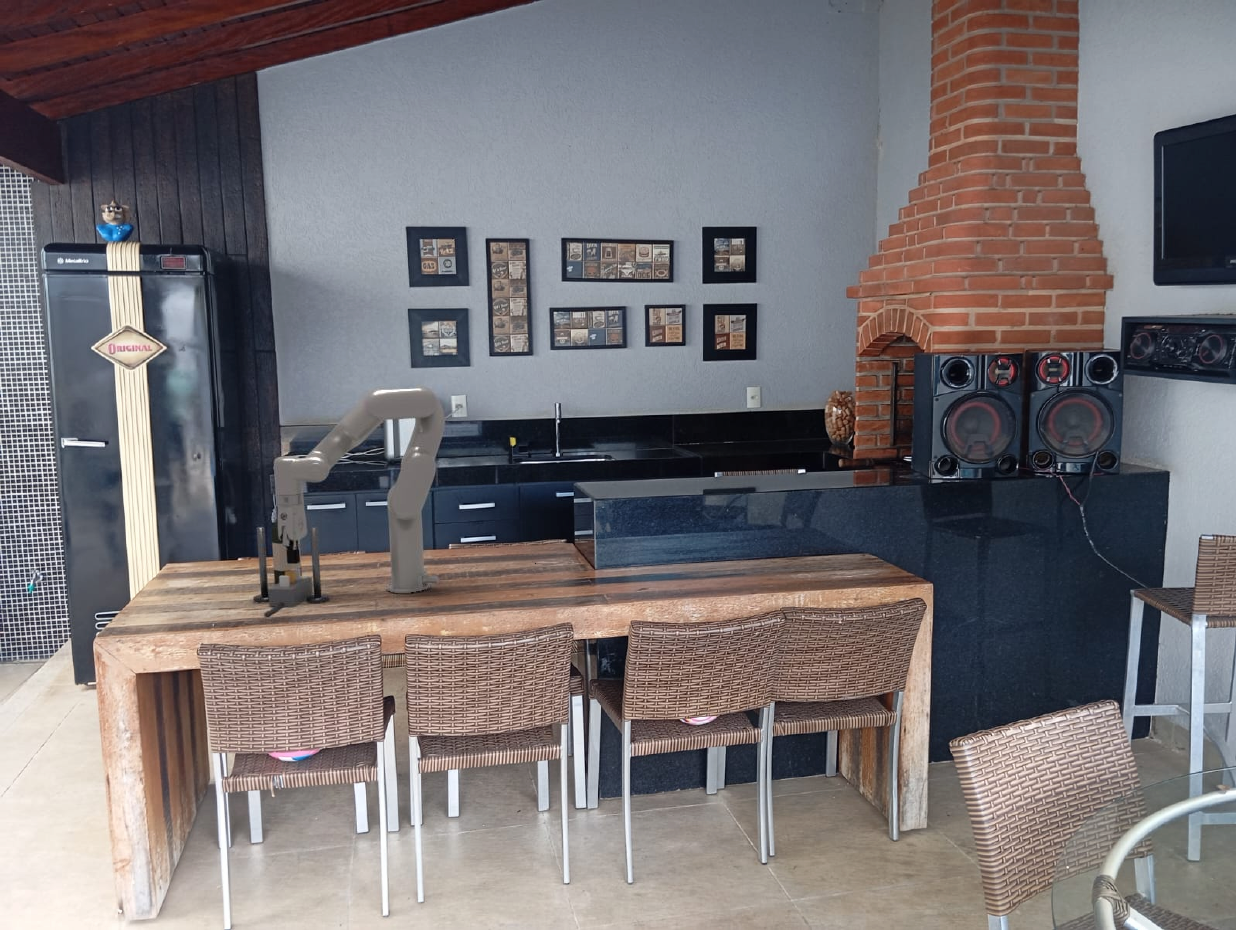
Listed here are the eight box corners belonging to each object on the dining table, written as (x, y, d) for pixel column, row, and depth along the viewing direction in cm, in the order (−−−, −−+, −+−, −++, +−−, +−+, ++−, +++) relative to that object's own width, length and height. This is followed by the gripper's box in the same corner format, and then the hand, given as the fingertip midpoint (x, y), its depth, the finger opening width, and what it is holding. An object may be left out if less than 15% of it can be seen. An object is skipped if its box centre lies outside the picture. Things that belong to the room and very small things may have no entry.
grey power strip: (312, 593, 314) (311, 566, 313) (279, 616, 290) (277, 587, 289) (289, 593, 314) (288, 566, 313) (254, 616, 291) (252, 587, 290)
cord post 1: (280, 597, 311) (276, 525, 308) (271, 603, 304) (266, 530, 301) (259, 597, 311) (254, 525, 308) (249, 602, 305) (244, 530, 302)
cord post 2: (332, 597, 309) (328, 525, 306) (324, 603, 303) (320, 530, 300) (311, 597, 310) (307, 525, 307) (302, 603, 303) (298, 530, 301)
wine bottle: (294, 584, 325) (288, 486, 321) (268, 583, 326) (262, 486, 322) (307, 578, 333) (301, 482, 329) (282, 577, 335) (276, 481, 330)
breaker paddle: (295, 581, 307) (294, 571, 306) (293, 582, 306) (293, 572, 305) (287, 581, 307) (286, 571, 307) (285, 582, 306) (284, 572, 305)
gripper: (292, 504, 298) (295, 569, 301) (312, 495, 313) (316, 557, 316) (266, 504, 299) (270, 569, 302) (287, 495, 314) (291, 557, 316)
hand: (293, 562), depth 309 cm, fingers closed
